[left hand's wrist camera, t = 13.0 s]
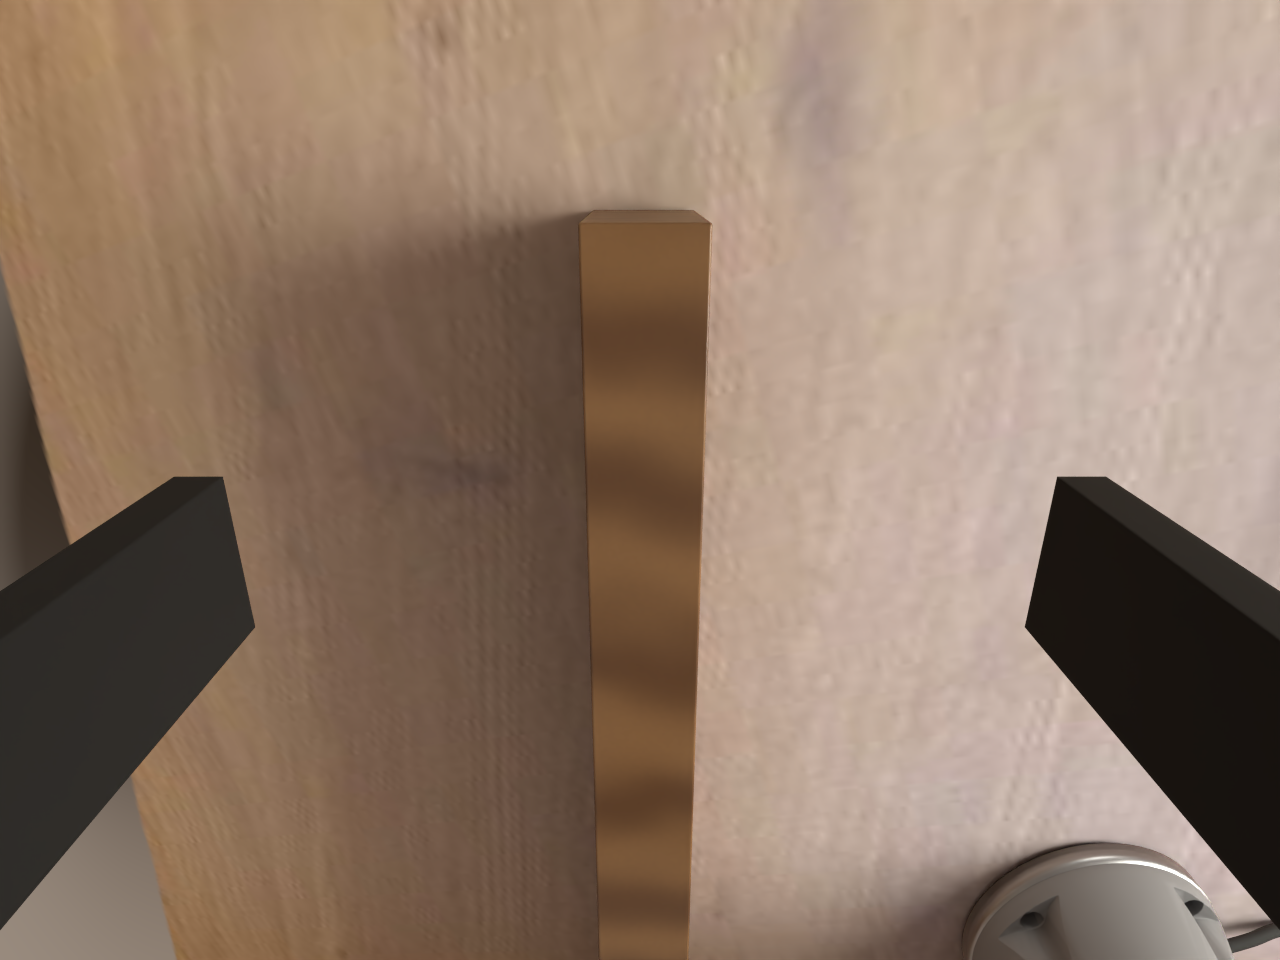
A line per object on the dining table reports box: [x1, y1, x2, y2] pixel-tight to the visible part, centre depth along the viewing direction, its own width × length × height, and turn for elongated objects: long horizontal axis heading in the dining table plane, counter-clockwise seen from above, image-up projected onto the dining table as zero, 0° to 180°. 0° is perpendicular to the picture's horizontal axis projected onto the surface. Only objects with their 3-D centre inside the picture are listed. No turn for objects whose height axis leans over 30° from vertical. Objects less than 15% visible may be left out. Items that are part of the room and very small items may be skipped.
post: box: [578, 210, 712, 960], centre depth 41 cm, size 61×4×9 cm, turn 0°
